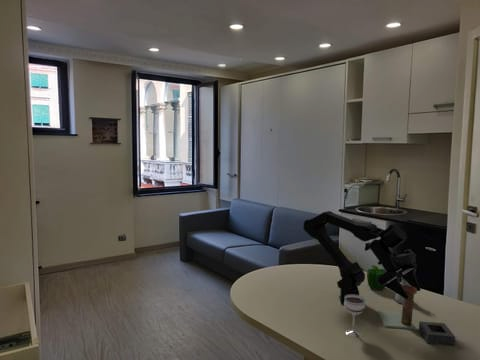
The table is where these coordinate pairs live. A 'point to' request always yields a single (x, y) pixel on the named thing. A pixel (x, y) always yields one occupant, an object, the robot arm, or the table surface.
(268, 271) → the table surface
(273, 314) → the table surface
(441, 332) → the eye block
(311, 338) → the table surface
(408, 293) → the walnut peg
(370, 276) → the bell pepper
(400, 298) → the flask
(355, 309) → the wineglass
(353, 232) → the robot arm
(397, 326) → the green pad
